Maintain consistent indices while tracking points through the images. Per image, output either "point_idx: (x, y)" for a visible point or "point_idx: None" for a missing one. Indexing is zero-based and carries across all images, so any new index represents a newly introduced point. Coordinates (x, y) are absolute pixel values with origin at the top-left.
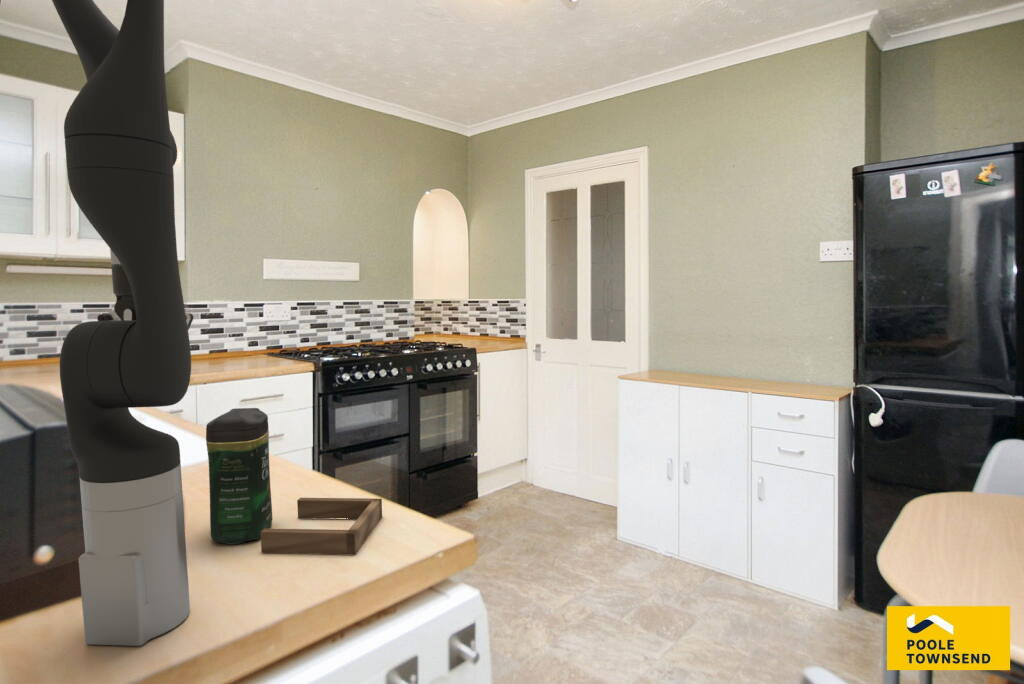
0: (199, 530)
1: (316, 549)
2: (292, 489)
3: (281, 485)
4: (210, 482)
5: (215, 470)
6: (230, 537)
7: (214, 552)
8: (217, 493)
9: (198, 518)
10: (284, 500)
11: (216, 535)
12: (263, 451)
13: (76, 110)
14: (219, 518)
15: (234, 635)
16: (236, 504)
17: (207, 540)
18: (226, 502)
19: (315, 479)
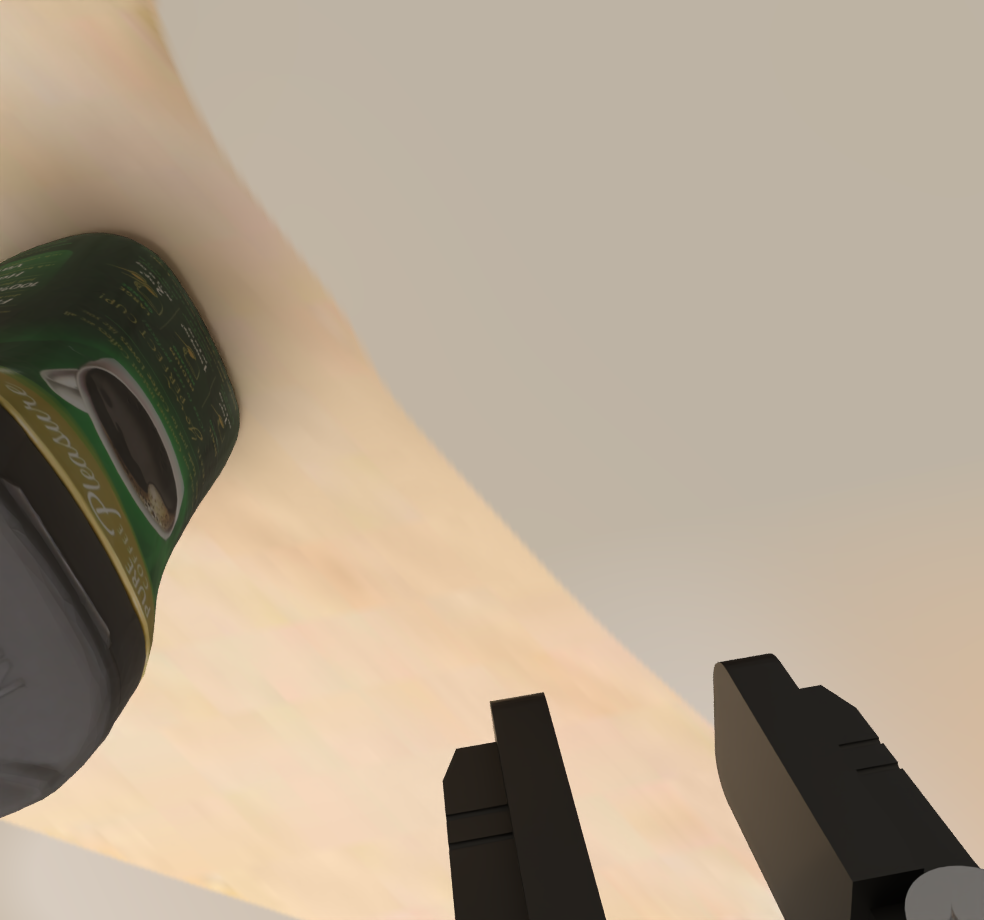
0: (316, 354)
1: None
2: (254, 770)
3: (330, 794)
4: (82, 324)
5: (3, 333)
6: (42, 245)
7: (78, 174)
8: (36, 292)
9: (413, 455)
10: (201, 674)
11: (100, 235)
12: None
13: None
14: (62, 255)
15: None
16: None
17: (204, 274)
18: (2, 285)
19: (238, 871)
